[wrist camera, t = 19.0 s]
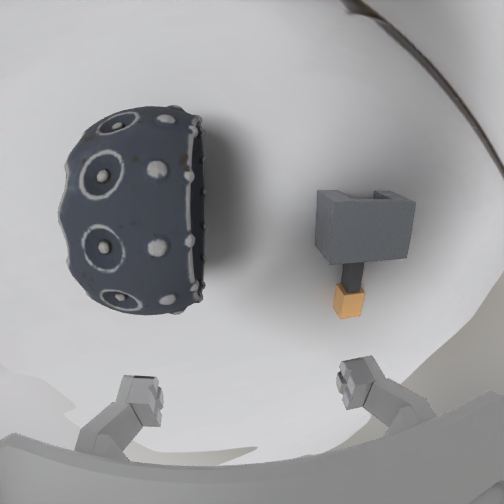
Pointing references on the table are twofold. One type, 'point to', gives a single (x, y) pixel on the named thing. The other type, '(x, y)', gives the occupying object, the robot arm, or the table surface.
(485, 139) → the table surface
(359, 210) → the slotted block
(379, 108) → the table surface
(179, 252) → the dotted bowl
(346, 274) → the plug
